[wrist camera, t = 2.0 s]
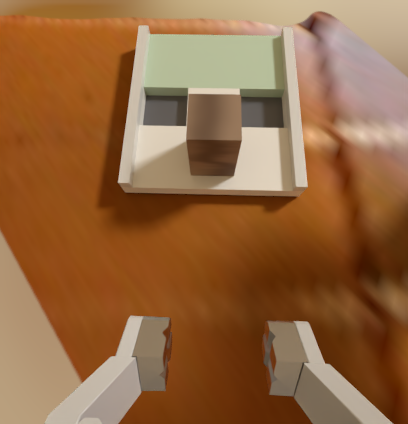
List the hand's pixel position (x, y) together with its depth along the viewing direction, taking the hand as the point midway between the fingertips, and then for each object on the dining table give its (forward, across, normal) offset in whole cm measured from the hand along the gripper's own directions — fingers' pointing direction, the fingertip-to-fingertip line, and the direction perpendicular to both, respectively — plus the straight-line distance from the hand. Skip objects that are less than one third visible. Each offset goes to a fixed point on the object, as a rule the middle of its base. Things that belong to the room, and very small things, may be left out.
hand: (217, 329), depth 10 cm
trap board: (+39, 0, -3) cm, 39 cm away
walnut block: (+31, 0, +2) cm, 31 cm away
